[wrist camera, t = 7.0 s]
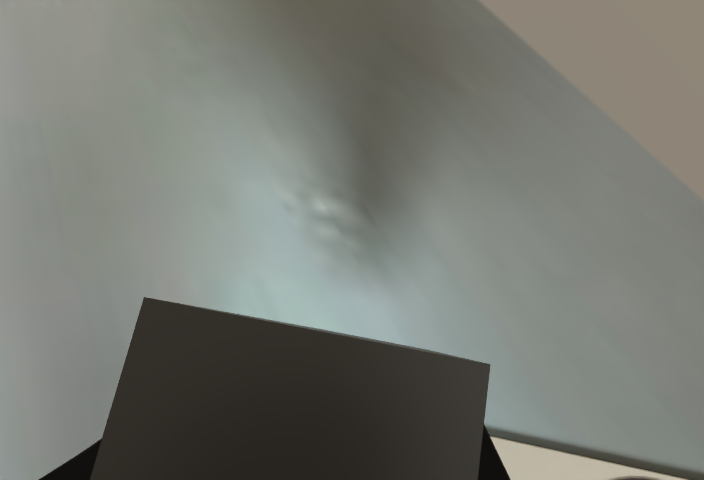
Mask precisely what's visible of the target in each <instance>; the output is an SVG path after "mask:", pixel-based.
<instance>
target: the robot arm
mask: <svg viewBox="0 0 704 480" xmlns="http://www.w3.org/2000/svg"><path fill="white" fill-rule="evenodd" d="M101 440H102V439H100V440H99V441H97V442H96V443H94V444H93V445H92V446H90V447H89V448H87V449H86V450H84V451H83V452H81V453H80V454H78V455H77V456H75V457H74V458H72V459H71V460H69V461H68V462H66V463H64V464H63V465H61V466H60V467H58V468H56V469H55V470H53V471H52V472H50V473H48V474H47V475H45V476H44V477H42V478H40V479H39V480H90V477H91V474H92V471H93V467H94V464H95V461H96V457H97V454H98V451H99V447H100V444H101ZM478 480H511V479H510V477H509V475H508V473H507V471H506V469H505V467H504V465H503V463H502V460H501V458H500V456H499V454H498V452H497V450H496V448H495V446H494V444H493V442H492V440H491V438H490V435H489V433H488V431H487V429H486V427H485V425H484V426H483V435H482V444H481V453H480V463H479V472H478Z"/></svg>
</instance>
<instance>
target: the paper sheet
mask: <svg viewBox="0 0 704 480" xmlns="http://www.w3.org/2000/svg"><path fill="white" fill-rule="evenodd" d="M490 438H491V440H492V442H493V444H494V446H495V448H496V450H497V452H498V454H499V456H500V458H501V460H502V463H503V465H504V467H505V469H506V471H507V473H508V475H509V477H510V479H511V480H689V479H685V478H680V477H676V476H671V475H667V474H662V473H658V472H653V471H648V470H644V469H639V468H635V467H630V466H626V465H621V464H617V463H612V462H607V461H603V460H598V459H594V458H589V457H585V456H580V455H576V454H571V453H566V452H562V451H557V450H553V449H548V448H544V447H539V446H535V445H530V444H525V443H521V442H516V441H512V440H507V439H503V438H498V437H494V436H490Z"/></svg>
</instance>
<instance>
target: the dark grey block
mask: <svg viewBox="0 0 704 480" xmlns="http://www.w3.org/2000/svg"><path fill="white" fill-rule="evenodd" d="M489 372H490V364H486V363H482V362H478V361H473V360H469V359H465V358H460V357H456V356H452V355H447V354H443V353H439V352H434V351H430V350H426V349H421V348H415V347H410V346H405V345H400V344H395V343H390V342H384V341H379V340H374V339H369V338H364V337H359V336H353V335H348V334H343V333H338V332H333V331H328V330H322V329H317V328H311V327H306V326H300V325H295V324H289V323H284V322H278V321H273V320H267V319H262V318H256V317H251V316H245V315H240V314H234V313H228V312H223V311H217V310H212V309H206V308H201V307H195V306H190V305H184V304H179V303H173V302H168V301H162V300H157V299H151V298H146V297H144V299H143V303H142V306H141V309H140V313H139V316H138V319H137V323H136V326H135V329H134V333H133V336H132V340H131V343H130V346H129V350H128V353H127V356H126V360H125V363H124V366H123V370H122V373H121V377H120V380H119V383H118V387H117V390H116V393H115V397H114V400H113V403H112V407H111V410H110V414H109V417H108V420H107V424H106V427H105V430H104V434H103V437H102V440H101V444H100V447H99V451H98V454H97V457H96V461H95V464H94V467H93V471H92V474H91V477H90V480H478V472H479V463H480V453H481V444H482V435H483V426H484V417H485V408H486V399H487V390H488V381H489Z"/></svg>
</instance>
